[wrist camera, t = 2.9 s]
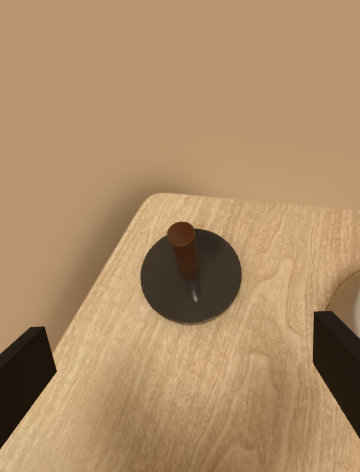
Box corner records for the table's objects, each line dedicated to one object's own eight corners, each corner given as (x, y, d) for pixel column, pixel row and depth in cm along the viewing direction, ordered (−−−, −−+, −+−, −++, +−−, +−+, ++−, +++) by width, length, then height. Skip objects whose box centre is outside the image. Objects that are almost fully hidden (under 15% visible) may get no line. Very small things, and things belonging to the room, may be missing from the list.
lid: (132, 318, 28) (96, 292, 20) (153, 230, 35) (133, 181, 26) (239, 332, 26) (252, 310, 17) (241, 235, 32) (251, 183, 24)
